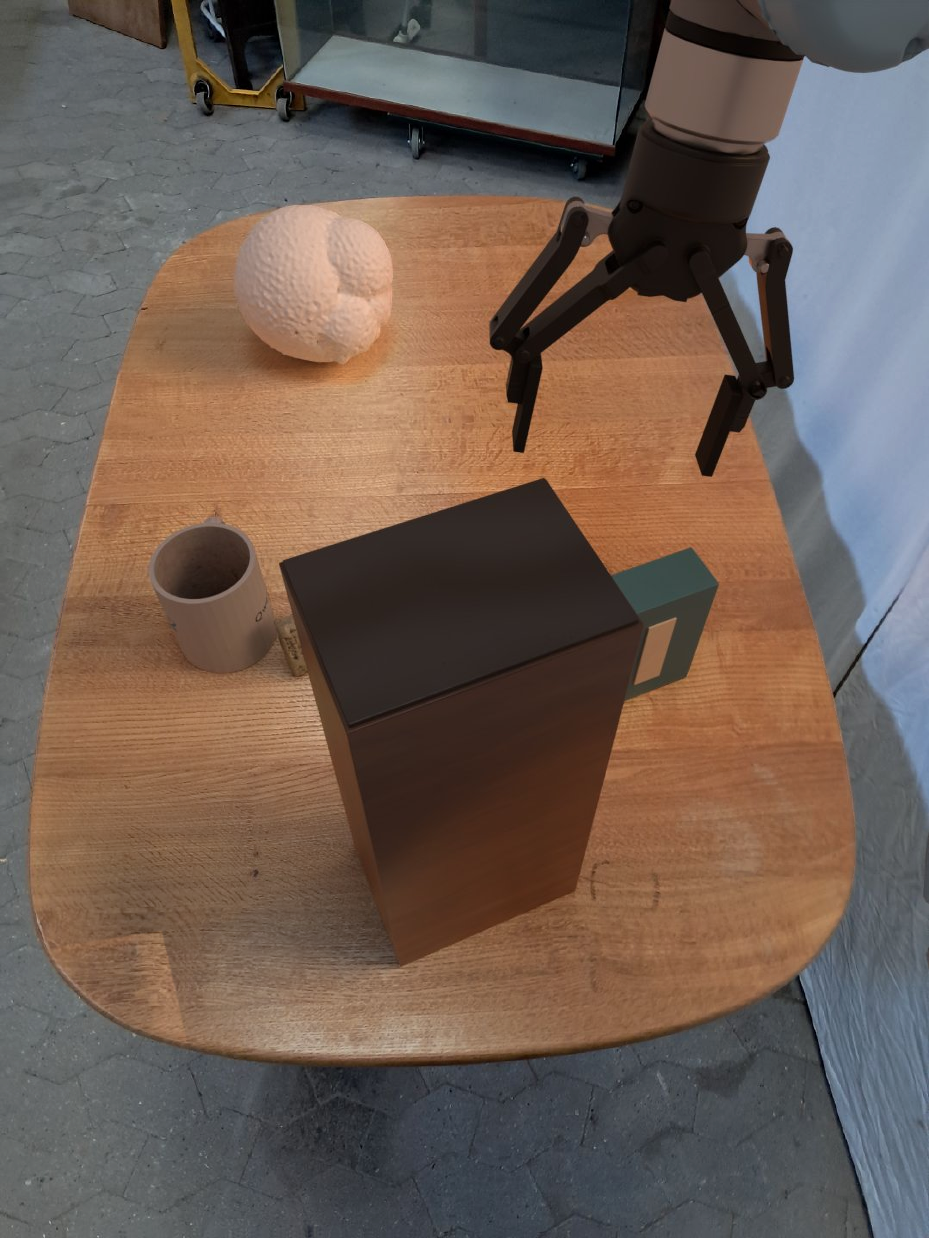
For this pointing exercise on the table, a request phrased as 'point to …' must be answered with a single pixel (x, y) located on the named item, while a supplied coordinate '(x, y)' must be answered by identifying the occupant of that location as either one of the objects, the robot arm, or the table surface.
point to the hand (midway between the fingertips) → (611, 454)
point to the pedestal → (466, 705)
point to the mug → (214, 596)
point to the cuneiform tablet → (290, 644)
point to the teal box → (667, 616)
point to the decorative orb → (314, 283)
